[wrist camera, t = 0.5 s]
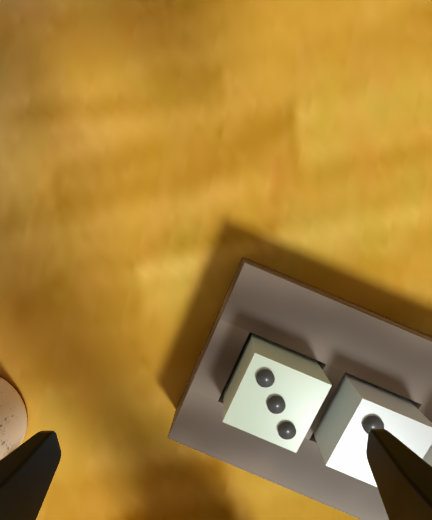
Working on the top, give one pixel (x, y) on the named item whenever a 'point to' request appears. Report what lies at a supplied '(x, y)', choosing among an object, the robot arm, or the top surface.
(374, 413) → the tile two
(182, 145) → the top surface
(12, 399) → the teacup with lid
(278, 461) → the grey tray with tiles
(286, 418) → the tile three
